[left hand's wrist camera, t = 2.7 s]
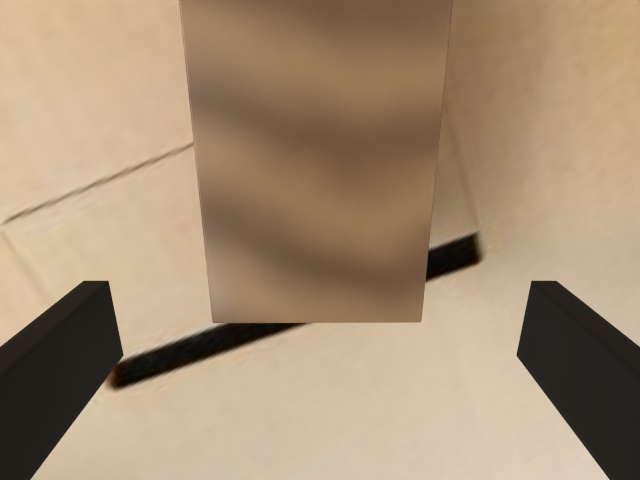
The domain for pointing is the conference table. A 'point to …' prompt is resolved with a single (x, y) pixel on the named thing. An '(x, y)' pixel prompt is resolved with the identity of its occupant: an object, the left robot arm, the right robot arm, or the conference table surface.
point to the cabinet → (316, 154)
